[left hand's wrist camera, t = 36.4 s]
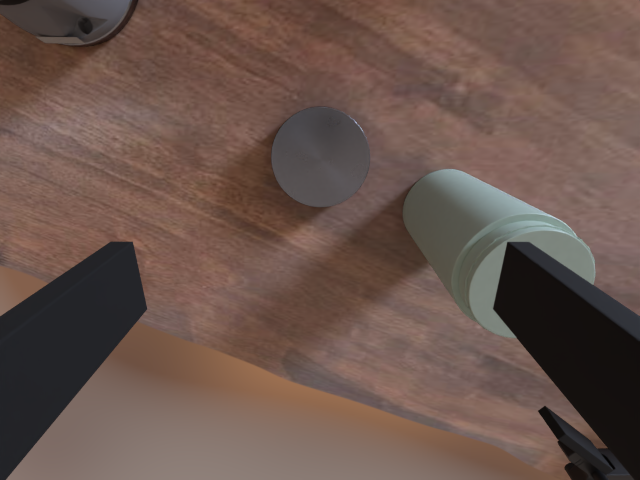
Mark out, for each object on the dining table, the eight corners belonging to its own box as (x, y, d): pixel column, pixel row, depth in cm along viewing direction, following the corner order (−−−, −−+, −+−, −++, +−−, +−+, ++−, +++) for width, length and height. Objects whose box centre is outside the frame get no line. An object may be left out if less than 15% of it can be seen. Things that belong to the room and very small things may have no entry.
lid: (360, 97, 38) (362, 97, 36) (372, 193, 42) (375, 198, 40) (263, 116, 39) (260, 117, 37) (284, 209, 43) (283, 214, 41)
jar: (439, 261, 46) (516, 365, 28) (385, 212, 43) (432, 292, 25) (500, 206, 43) (630, 282, 25) (447, 151, 40) (549, 191, 22)
